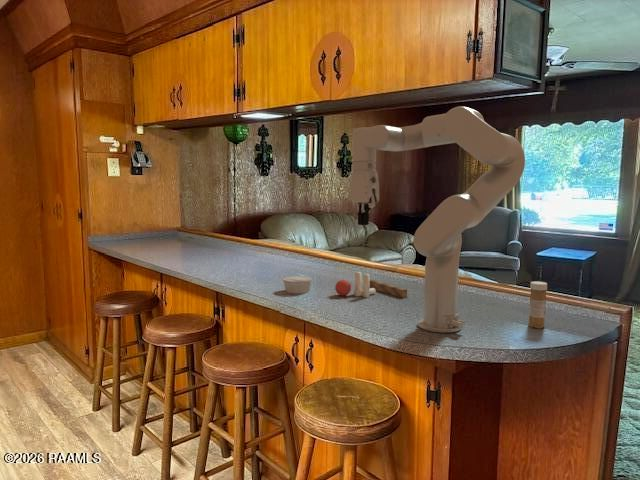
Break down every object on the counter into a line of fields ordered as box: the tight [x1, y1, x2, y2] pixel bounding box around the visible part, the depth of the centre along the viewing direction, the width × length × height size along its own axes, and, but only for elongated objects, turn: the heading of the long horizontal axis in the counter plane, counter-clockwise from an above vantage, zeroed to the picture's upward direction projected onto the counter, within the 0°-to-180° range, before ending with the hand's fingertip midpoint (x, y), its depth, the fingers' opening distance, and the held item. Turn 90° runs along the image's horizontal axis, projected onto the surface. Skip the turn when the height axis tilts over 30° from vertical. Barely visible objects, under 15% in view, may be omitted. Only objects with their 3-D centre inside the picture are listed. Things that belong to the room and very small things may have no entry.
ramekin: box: [283, 275, 313, 295], centre depth 190 cm, size 11×11×5 cm
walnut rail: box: [369, 278, 408, 299], centre depth 190 cm, size 22×2×3 cm, turn 32°
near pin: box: [362, 273, 371, 298], centre depth 181 cm, size 2×2×8 cm
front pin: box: [353, 288, 377, 298], centre depth 184 cm, size 2×2×8 cm
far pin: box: [354, 271, 362, 291], centre depth 185 cm, size 2×2×8 cm
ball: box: [334, 279, 352, 297], centre depth 183 cm, size 6×6×6 cm
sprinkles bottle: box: [528, 280, 548, 329], centre depth 144 cm, size 5×5×13 cm
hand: (363, 224), depth 157 cm, fingers closed
